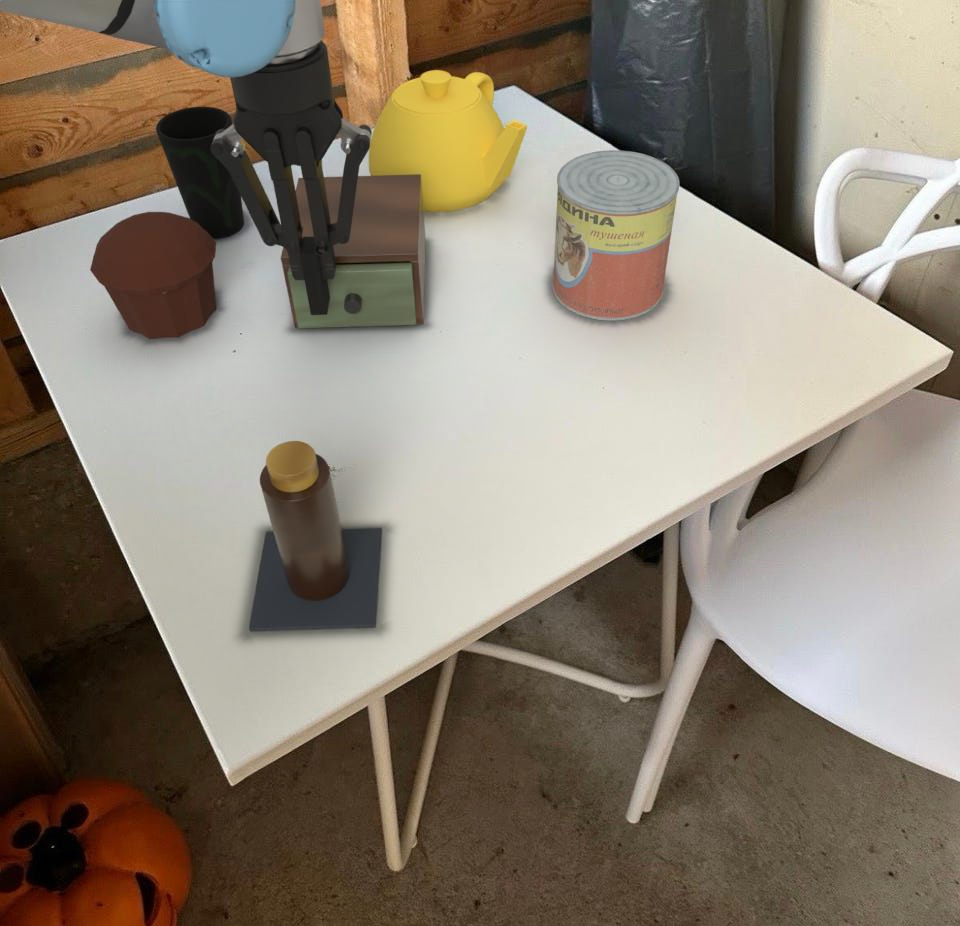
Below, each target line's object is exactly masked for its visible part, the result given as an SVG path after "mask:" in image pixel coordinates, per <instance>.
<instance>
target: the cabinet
mask: <svg viewBox="0 0 960 926" xmlns="http://www.w3.org/2000/svg"><path fill="white" fill-rule="evenodd" d="M342 179H343V176H324V182H325V188H326V194H327V201H328V207H329V214H330V220H331V224H333V223H335V222H337V219H338V211H339V203H340V195H341V187H342ZM295 191H296V197H297V203H298V208H299V214H300V220H301V226H302V227H303V233H302V239H303V237H314V234H313V228H312V222H311V216H310V211H309V205H308V199H307V193H306V187H305V181H304V179H303V177H298V179H297V183H296V186H295ZM426 245H427V241H426V224H425V211H424V210H423V195H422V182H421V174H413V175H379V176H371V175H358V181H357V188H356V195H355V203H354V210H353V217H352V225H351V231H350V238H349V241H348V242H347V243H345V244H340V243H338V244H335V245H334V253H335V260H336V263H364V262H398V261H410V263H412V268H413V280H414V292H415V304H416V316H417V320H416V325H424V319H425V318H424V316H425V283H426V282H425V280H426V249H427V248H426V247H427V246H426ZM280 261H281V265H282V271H283V275H284V281H285V286H286V291H287V296H288V301H289V304H290V305H289V306H290V311H291V316H292V320H293V325H294V329H299V328H298V324H297V319H296V314H295V309H294V304H293V299H292V294H291V289H290V284H289V279H288V274H287V273H288V268H289V266H290V262H289V256H288V252H287V250H286V249H285V248H284V247H282V250H281V255H280Z"/></svg>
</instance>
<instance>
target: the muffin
mask: <svg viewBox="0 0 960 926" xmlns="http://www.w3.org/2000/svg"><path fill="white" fill-rule="evenodd" d="M216 252H217V241H216V239H213V238H212V237H211V236H210V235H209V233H208V232H207V231H206V230H204V229H203V228H202V227H201V226H200V225H199V224H198V223H197V222H195V221H193V220H192V219H190V217H186V216H183V215H179V214H176V213H172V212H168V211H167V212H166V211H146V212H142V213H136V214H133V215H131V216H129V217H126V218H124V219H122V220H120V221H118V222H116V223H115V224H114V225H113V226H112V227H110V229H109V230H107V231H106V232H105V233H104V234H103V235H102V236H101V237H100V238H99V239H98V242H97V244H96V246H95V250H94V252H93V253H94V254H93V256H92V261H91V264H90V270H89V271H90V272H91V273H92V275H93V276H94V277H95V279H96V280H97V281H98V283H99V284H101V285H102V286H103V287H104V289H105V290H106V292H107V294H108V295H109V297H110V299H111V300H112V302H113V304H114V306H115V307H116V309H117V311H118V313H119V314H120V316H121V318H122V319H123V321H124V322H125V324H126V326H127V328H128V329H129V331H131V332H134V333H137V334H139V335H141V336H143V337H145V338H147V339H149V340H155V339H163V338H165V339H167V338H174V339H175V338H180V337H182V336H184V335H186V334H189V333H190V332H192V331H196V330H197V329H200V328H203V327H205V325H206V323H207V322H208V320H209V319H210V317H211V316H212V315H213V313H215V312H216V310H217V302H216V292H215V291H216V289H215V277H214V265H213V261H214V260H215V258H216Z"/></svg>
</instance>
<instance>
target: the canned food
mask: <svg viewBox="0 0 960 926" xmlns="http://www.w3.org/2000/svg"><path fill="white" fill-rule="evenodd" d="M556 184H557V192H556V193H557V194H556V195H557V197H556V214H555V215H556V217H555V236H554V237H555V238H554V257H553V260H554V261H553V277H552V280H551V281H552V282H551V288H552V289H551V290H552V293H553V295H554V297H555V299H556V300H557V301H558V302H559V303H560V304H561V305H562V306H563V307H564V308H566V309H567V310H569V311H570V312H572V313H573V314H577V315H579V316H580V317H581V316H582V317H584V318H588V319H592V320H599V321H609V322H610V321H612V322H613V321H614V322H615V321H624V320H631V319H635V318H638V317H641V316H643V315H645V314H648V313H649V312H651V311H652V310H653V309H655V308H656V307H657V306H658V305H659V303H661V300H662V299H663V296H664V288H665V287H664V285H665V278H666V270H667V263H668V257H669V251H670V244H671V238H672V231H673V224H674V217H675V210H676V205H677V204H676V203H677V198H678V193H679V191H680V184H681V183H680V178H679V176H678V174H677V172H676V171H675V170H674V169H673V168H672V167H671V166H670V165H668V164H667V163H666V162H664V161H662V160H661V159H658V158H657V157H653V156H651V155H649V154H645V153H641V152H636V151H629V150H609V149H608V150H599V151H593V152H589V153H584V154H581V155H579V156H576V157H574V158H573V159H570V160H569V161H567V162H566V163H565V164H564V165H562V166H561V167H560V169H559V171H558V173H557V176H556Z"/></svg>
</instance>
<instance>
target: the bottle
mask: <svg viewBox="0 0 960 926" xmlns="http://www.w3.org/2000/svg"><path fill="white" fill-rule="evenodd" d="M259 484H260V489H261V492H262V496H263V500H264V502H265V506H266V510H267V514H268V517H269V520H270V524H271V528H272V531H273V532H274V535H275V539H276V542H277V546H278V550H279V553H280V557H281V560H282V564H283V568H284V571H285V575H286V578H287V582H288V585H289V588H290V590H291V591H292V592H293V593H294V594H295V595H296V596H298V597H299V598H301V599H304V600H308V601H321V600H325V599H328V598H331V597H333V596H335V595H336V594H338V593H339V592H340V591H341V590H342V589H343V588H344V587H345V585H346V584H347V582H348V579H349V566H348V561H347V556H346V551H345V546H344V540H343V535H342V530H341V529H342V526H341V522H340V515H339V510H338V506H337V505H338V504H337V500H336V496H335V489H334V484H333V479H332V473H331V470H330V466H329V464H328V462H327V460H325V458H324V457H322V456H321V455H319V454H318V453H316V451H315V449H314V448H313V447H312V446H311V445H310V444H309V443H306V442H304V441H299V440H290V441H284V442H282V443H279V444H278V445H276V446H274V447H273V448H272V449H271V450H270V451H269V452H268V454H267V455H266V459H265V465H264V467H263V468H262V470H261V472H260V476H259Z"/></svg>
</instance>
